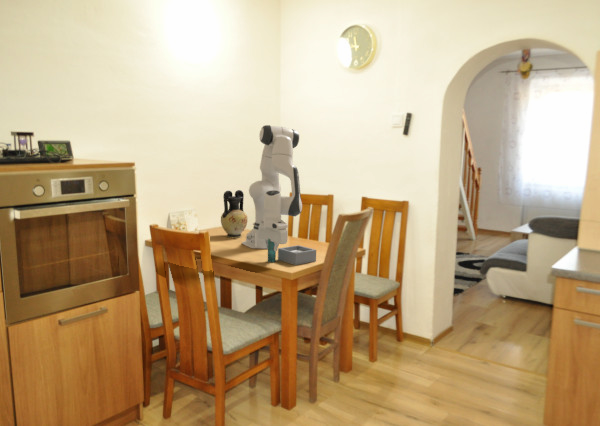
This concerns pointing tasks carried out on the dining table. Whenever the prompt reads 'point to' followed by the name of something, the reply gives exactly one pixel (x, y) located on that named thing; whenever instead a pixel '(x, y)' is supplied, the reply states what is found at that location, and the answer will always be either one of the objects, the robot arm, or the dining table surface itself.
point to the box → (297, 255)
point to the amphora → (234, 214)
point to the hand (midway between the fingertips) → (271, 249)
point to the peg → (271, 251)
